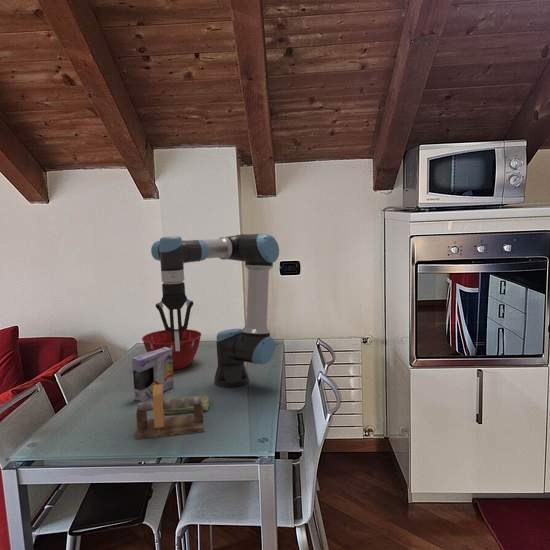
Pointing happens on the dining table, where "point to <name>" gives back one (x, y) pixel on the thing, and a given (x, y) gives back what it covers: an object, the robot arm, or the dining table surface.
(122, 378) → the dining table surface
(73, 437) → the dining table surface
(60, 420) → the dining table surface
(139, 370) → the cake pan box
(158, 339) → the mixing bowl
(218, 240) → the robot arm
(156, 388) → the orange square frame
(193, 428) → the rod stand
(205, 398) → the washcloth
